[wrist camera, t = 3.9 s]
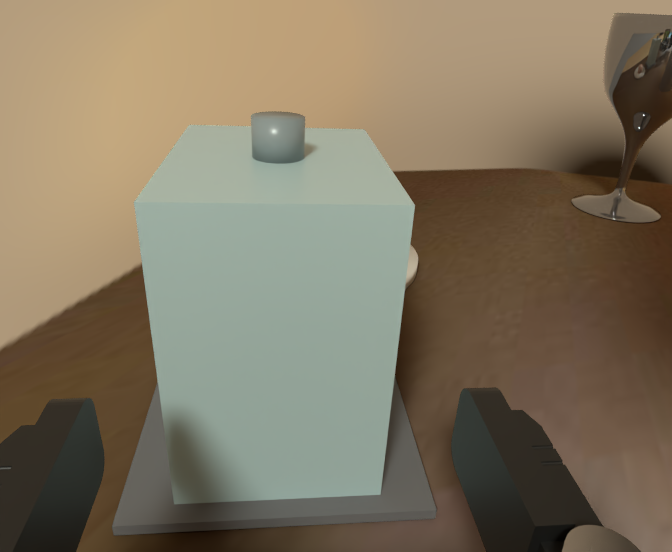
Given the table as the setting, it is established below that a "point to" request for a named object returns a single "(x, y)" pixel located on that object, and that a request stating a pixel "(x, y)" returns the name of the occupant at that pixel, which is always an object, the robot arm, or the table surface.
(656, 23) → the wine glass
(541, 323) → the table surface
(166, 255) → the cloche
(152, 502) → the mat
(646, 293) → the table surface
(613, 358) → the table surface
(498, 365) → the table surface
